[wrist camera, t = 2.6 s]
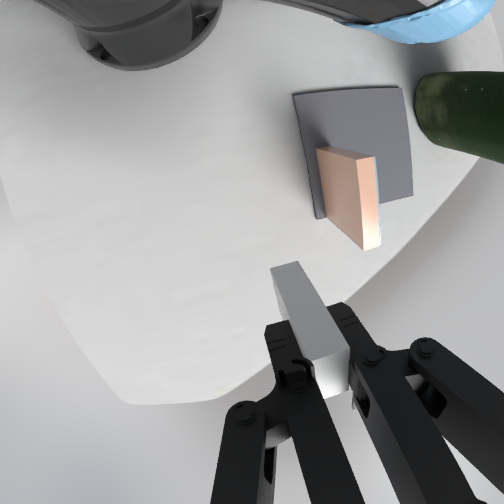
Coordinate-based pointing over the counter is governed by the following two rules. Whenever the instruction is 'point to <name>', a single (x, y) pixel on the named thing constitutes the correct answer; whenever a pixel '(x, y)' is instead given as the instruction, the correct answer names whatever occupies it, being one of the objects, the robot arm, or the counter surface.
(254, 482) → the robot arm
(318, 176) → the mat
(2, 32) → the counter surface
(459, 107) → the green bottle
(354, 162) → the tile
